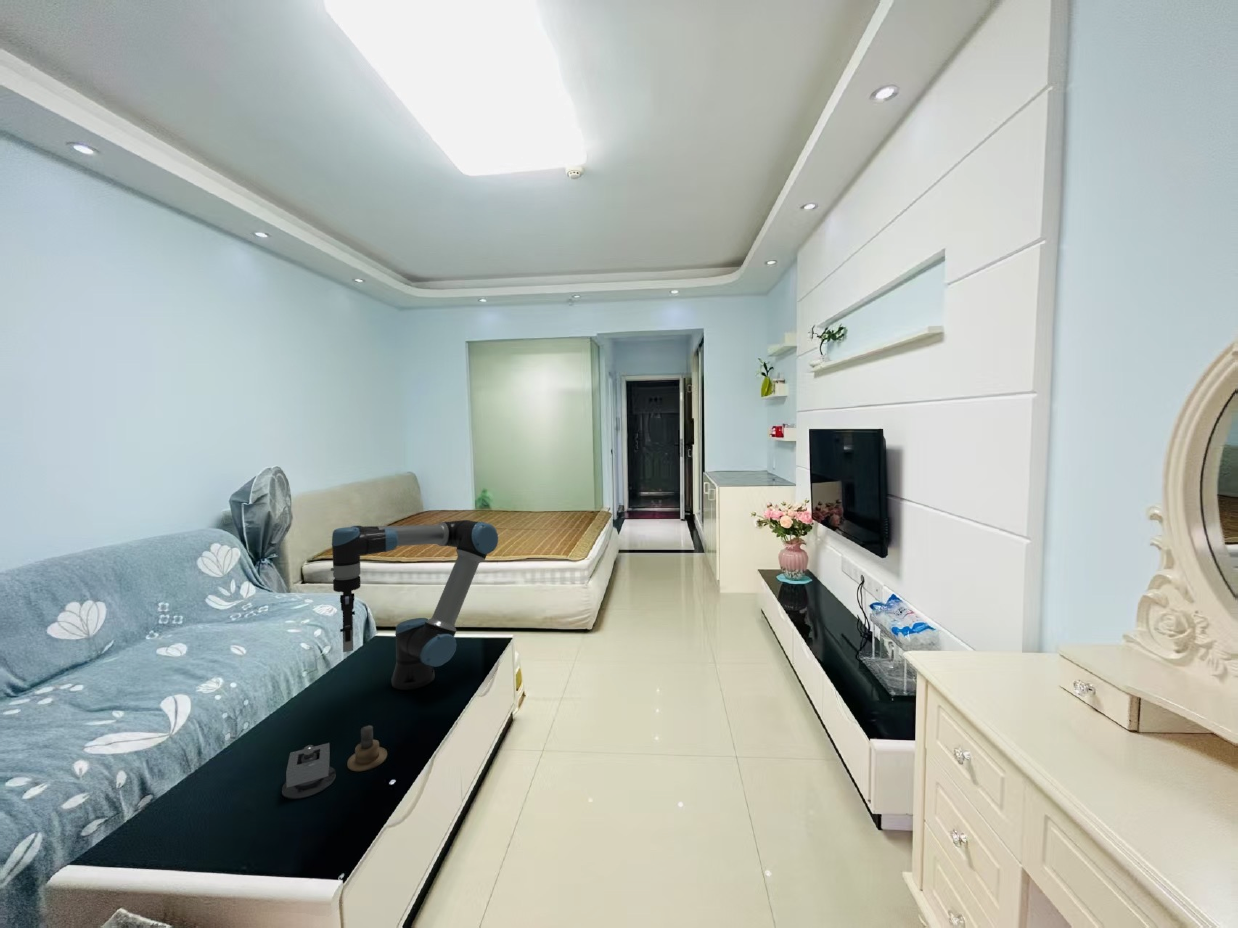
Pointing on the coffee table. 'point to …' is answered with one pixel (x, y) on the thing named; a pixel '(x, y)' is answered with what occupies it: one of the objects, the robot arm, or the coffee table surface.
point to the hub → (311, 786)
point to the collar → (308, 766)
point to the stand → (367, 752)
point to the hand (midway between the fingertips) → (348, 643)
